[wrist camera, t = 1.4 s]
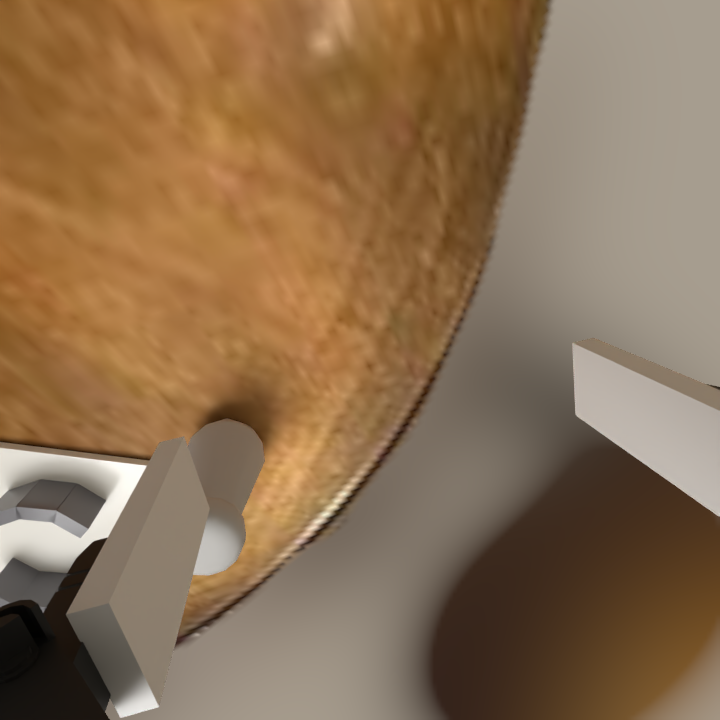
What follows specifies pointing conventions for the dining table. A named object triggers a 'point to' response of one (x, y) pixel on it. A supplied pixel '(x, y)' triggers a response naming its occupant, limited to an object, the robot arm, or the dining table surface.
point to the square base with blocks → (55, 513)
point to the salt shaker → (225, 488)
